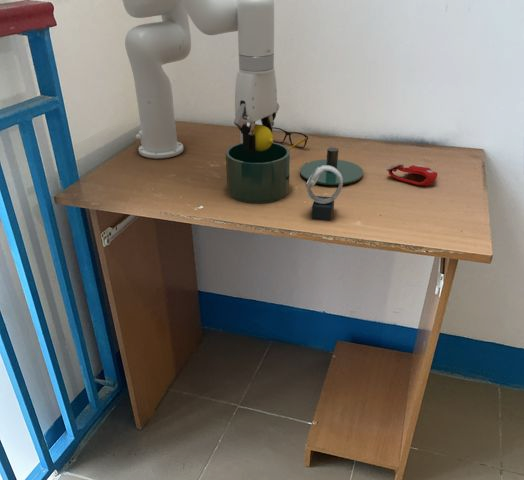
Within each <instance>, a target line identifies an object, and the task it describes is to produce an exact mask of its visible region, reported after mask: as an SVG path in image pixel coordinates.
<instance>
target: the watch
mask: <svg viewBox="0 0 524 480" xmlns="http://www.w3.org/2000/svg"><path fill="white" fill-rule="evenodd" d="M331 169H332V170H331ZM325 170H326V171H330V172H334V174H336V175H337V176H338V178H339V180H340V183H339V185H337V186H338V187H337V188H336V190H335V191H334V193H332V194H331V196H322V195H321V196H320V195H315V193H313V190H312V189H313V188H314V187H315V185H316V184H317V183H316V182H317V181H318V179H319V178H320V176H321V174H322V172H323V171H325ZM342 183H343V178H342V175H341V173H340V172H339V171H338V170H337V169H336V168H335V167H333V166H329V165H322V166H321V167H317V168H316V169H315V170H314V172H313V173H312V175H311V176H310V178H309V180H307V182H306V184H305V187H306V188H307V189H306V193H307V195H308V197H309V198H310V200H312V201H313V203H312V205H311V220H314V221H315V220H316V221H326V222H327V221H328V222H332V218H333V214H334V211H335V201H336V200H337V198H338V197H339V195H340V193H341V191H342V189H343V185H344V184H342Z"/></svg>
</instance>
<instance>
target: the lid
mask: <svg viewBox="0 0 524 480" xmlns="http://www.w3.org/2000/svg"><path fill="white" fill-rule="evenodd" d="M322 165H329V166H333V167H335V168H336V169H337V170H338V171H339V172H340V173H341V175H342V178H343V183H342V184H343V185H348V184H352V183H356V182H357V181H359V180H361V179H362V177H363V175H364V170H363V168H362V167H361V166H360V165H358V164H356V163H354V162H351V161H347V160H341V159H339V148H337V147H333V146H332V147H328V148H327V150H326V159H325V158H324V159H317V160H312V161H309V162H305V164H303V165H301V167H300V168H299V174H300V176H301V177H302V178H303V179H304V180H307V181H308V180H309V178H310V176H311V175H312V173H313V172H314V170H315V169H316V168H317V167H321V166H322ZM331 170H332V169H331ZM339 183H340V180H339V178H338V176H337V175H336V174H334V172H330V171H326V170H325V171H323V172H322V174H321V176H320V178H319V179H318V181H317V182H316V184H319V185H326V186H339Z"/></svg>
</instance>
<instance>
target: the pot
mask: <svg viewBox="0 0 524 480" xmlns="http://www.w3.org/2000/svg"><path fill="white" fill-rule="evenodd" d="M288 148H289V147H287V146H285V145H284V144H282V143H276V142H273V143H272V145H271V146H270V148H268V149H267V150H265V151H256V150H255V152H254V153H251V152H248V151H244V150H243V143H241V142H239V143H236V144H233V145H231V146H229V147H228V148H227V149H226V150H225V167H226V168H225V169H226V185H227V186H226V189H227V194H228V195H229V197H231V198H232V199H234V200H236V201H239V202H242V203H248V204H268V203H274V202H276V201H280V200H281V199H284V198H286V196H287V195H288V194H289V191H290V161H291V160H290V159H291V157H290V156H291V152H290V151H291V149H288Z"/></svg>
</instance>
